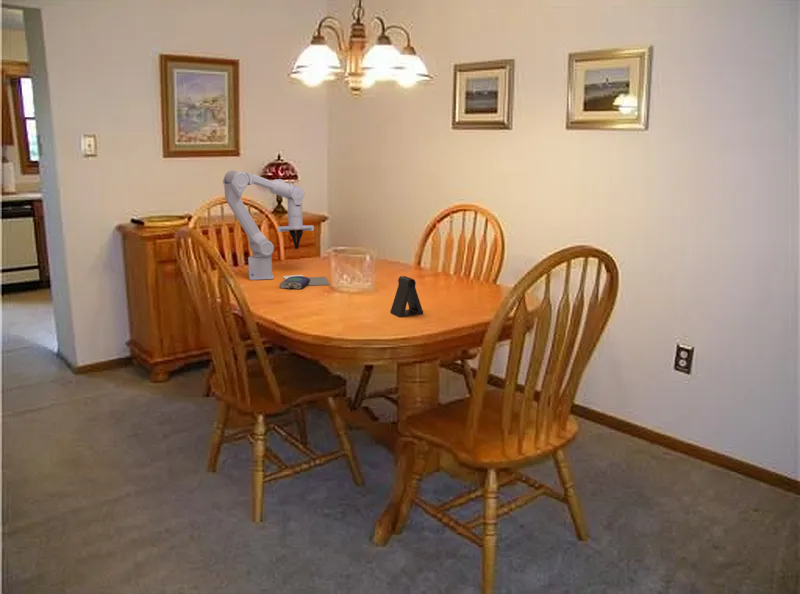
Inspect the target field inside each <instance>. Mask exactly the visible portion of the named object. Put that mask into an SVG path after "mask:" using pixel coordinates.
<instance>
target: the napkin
mask: <svg viewBox="0 0 800 594" xmlns="http://www.w3.org/2000/svg"><path fill="white" fill-rule="evenodd" d="M293 276H304V275H303V274H292V275H291V274H290V275H283V276H282V279H284V280H286V279H287V278H289V277H293Z"/></svg>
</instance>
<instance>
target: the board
mask: <svg viewBox="0 0 800 594" xmlns="http://www.w3.org/2000/svg"><path fill="white" fill-rule="evenodd" d="M306 277H307V276H306ZM307 278H309V279H310V282H309V283H308V284H307V285H308V287H315V286H316V287H317V286H321V287H322V286H331V285H330V284H331V283H330V282H329V280H328V278H327V277H326V276H311V277H307Z"/></svg>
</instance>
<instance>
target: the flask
mask: <svg viewBox="0 0 800 594" xmlns="http://www.w3.org/2000/svg"><path fill="white" fill-rule="evenodd" d="M309 282H310V279H309V278H307V276H304V275H303V276H293V277H289V278H287V279H286V280H285V279H284V280H283V281H282V282H280V283H279V288H280V289H295V290H302V289H303V288H304V287H305V286H307V285H308V283H309Z"/></svg>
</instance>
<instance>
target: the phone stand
mask: <svg viewBox="0 0 800 594" xmlns="http://www.w3.org/2000/svg"><path fill="white" fill-rule="evenodd" d="M397 281H398V286H397V288H396V293H395V295H394V299H393V302H392V305H391V309H390V314H392V315H395V316H396V317H397V318H404V317H411V316H418V315H423V314H424V310H423V308H422V307H423V306H422V304H421V301H420V298H419V295H418V293H417V289H416V280H415V279H414V278H411V277H408V276H406V275H403V276H399V277H398V280H397ZM407 306H408V308H407Z"/></svg>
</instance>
